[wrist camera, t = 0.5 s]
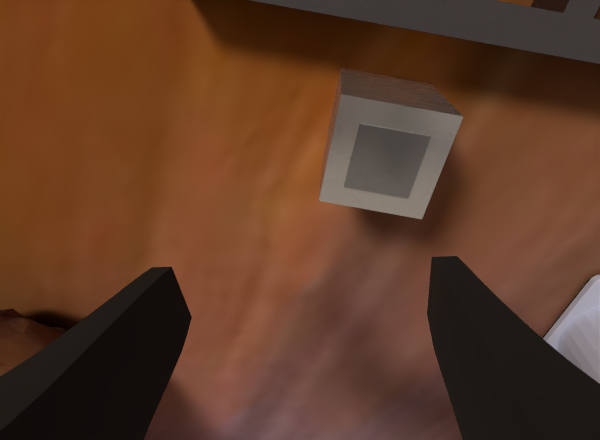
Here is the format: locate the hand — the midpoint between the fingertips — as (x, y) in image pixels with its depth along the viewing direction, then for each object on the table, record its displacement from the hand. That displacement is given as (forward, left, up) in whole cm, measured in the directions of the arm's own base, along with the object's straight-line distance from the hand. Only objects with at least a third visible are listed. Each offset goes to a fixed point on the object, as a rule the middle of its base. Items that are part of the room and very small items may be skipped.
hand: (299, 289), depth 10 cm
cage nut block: (-2, -2, -10) cm, 10 cm away
